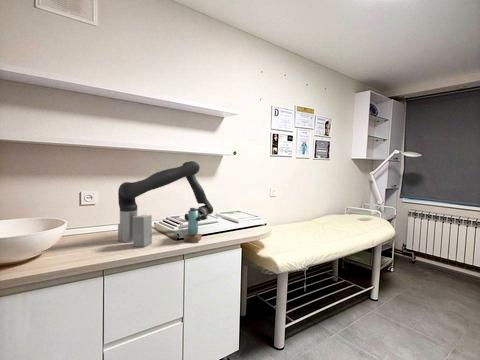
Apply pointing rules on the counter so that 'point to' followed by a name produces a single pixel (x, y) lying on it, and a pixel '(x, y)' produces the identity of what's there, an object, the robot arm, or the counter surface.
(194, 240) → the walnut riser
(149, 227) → the skincare box
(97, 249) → the counter surface
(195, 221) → the teal bottle
